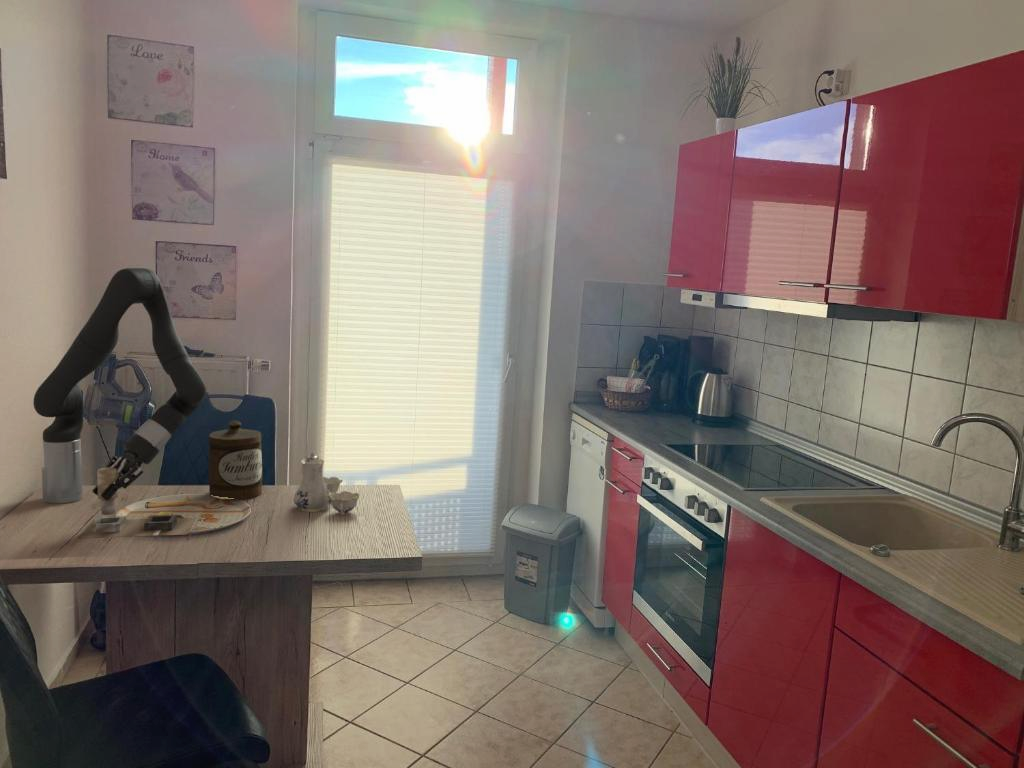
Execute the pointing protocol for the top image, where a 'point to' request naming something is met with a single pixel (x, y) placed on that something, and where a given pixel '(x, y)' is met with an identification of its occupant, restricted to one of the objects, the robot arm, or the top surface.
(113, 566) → the top surface
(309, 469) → the chinaware
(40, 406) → the robot arm
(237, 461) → the wooden container
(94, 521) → the subfloor board
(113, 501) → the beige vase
